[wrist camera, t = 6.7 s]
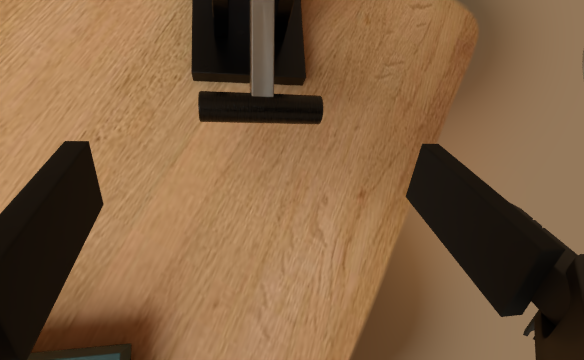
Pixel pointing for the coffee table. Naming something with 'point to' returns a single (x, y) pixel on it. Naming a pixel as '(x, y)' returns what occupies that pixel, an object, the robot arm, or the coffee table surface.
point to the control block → (86, 353)
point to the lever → (260, 84)
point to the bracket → (244, 41)
